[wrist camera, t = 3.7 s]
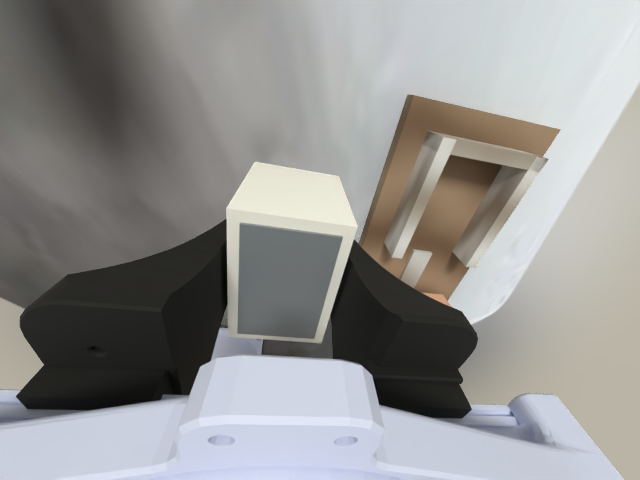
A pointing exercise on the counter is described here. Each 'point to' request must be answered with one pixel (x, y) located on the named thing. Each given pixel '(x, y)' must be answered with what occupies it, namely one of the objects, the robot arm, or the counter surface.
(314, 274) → the block
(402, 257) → the rail board
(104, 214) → the counter surface
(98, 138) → the counter surface
